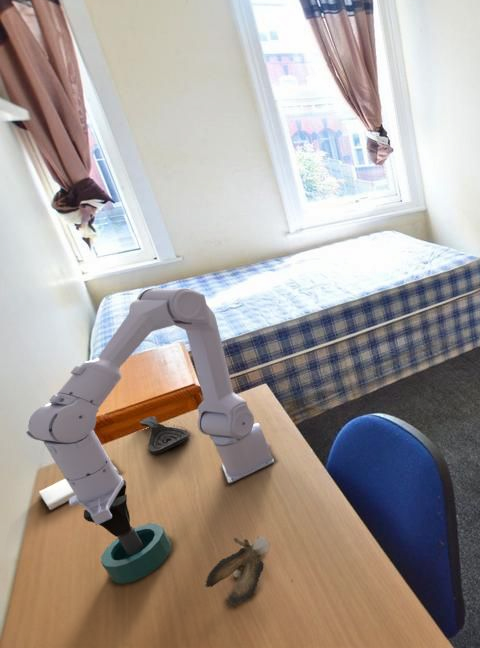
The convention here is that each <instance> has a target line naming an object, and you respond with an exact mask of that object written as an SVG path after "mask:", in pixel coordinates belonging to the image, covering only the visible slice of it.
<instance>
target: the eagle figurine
mask: <svg viewBox="0 0 480 648" xmlns="http://www.w3.org/2000/svg"><path fill="white" fill-rule="evenodd" d="M233 541H234V542H235V543H236V544H239V545H240V546H242V547H240V548H239V550H238V551H236V552H235V553H232V554H230V556H227V557H224V558H222V559H221V560H219V561H218V562H217V563H216V564H215V565H214V567H213V568H212V569H211V570H210V571H209V573H208V575H207V577H206V580H205V584H204V587H205V588H212V587H214V586H216V585H217V584H218V583H220V582H221V581H224V580H225V579H227V578H229V577H230V576H231V575H232V574H233V576H234V579H235V578H237V580H236V583H235V585H234V587H233V588H232V590H231V592H230V593H229V594H228V596H227V600H228V603H229V604H230V605H231V606H237V605H238V604H241V603H242V602H244V600H248V598H249V597H251V596H252V594H254V592H255V591H256V588H257V587H258V583H259V582H260V579H259V578H261V575H262V573H263V571H264V565H265V564H264V562H263V561H262V559H261V557H262V556H263V555H266V554H268V553H269V551H270V545H271V543H270V541H269V539H268V538H267V537H264V536H261V537H260V536H258V537H256V538H254V541H253V543H252V545H251V544H250V542H249V540H248V539H247V538H244V539H243V541H242V540H240V539H238V538H237V537H233Z"/></svg>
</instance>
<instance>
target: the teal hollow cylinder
mask: <svg viewBox="0 0 480 648" xmlns="http://www.w3.org/2000/svg"><path fill="white" fill-rule="evenodd" d="M133 528H134V529H135V531H136V533H137V535H138V536H139V538H140V540H141V542H142V543H143V545H144V547H143V549H142V550H141V551H140V552H138V553H137V554H135V555H131V556H130V555H128V554H127V553H126V551H125V549H124V548H123V546H122V544H121V543H120V541H119V539H118V538H117V537H116V538H115V539H114V540H113V541H112V542H111V543H110V544H109V545H108V546H106V548H105V549H104V551H103V553H102V555H101V556H100V557H101V558H100V559H101V562H100V564H101V565H102V566H103V568H104V570H105V572H106V574H108V576H109V577H110V578H111V580H112V581H113V582H114V583H116V584H129V583H132V582H135V581H138V580H140V579H143V578H144V577H146V576H148V575H149V574H151V573H152V572H154V571H155V570H156V569H157V568H159V567H160V566H161V565H162V564H163V563H164V562H165V561H166V560H167V558H168V557H169V555H170V553H171V551H172V544H171V541H170V539H169V537H168V534H167V533H166V531H165V529H164V528H163V526H162V525H160V524H158V523H145V524H141V525H138V526H136V527H133Z"/></svg>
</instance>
